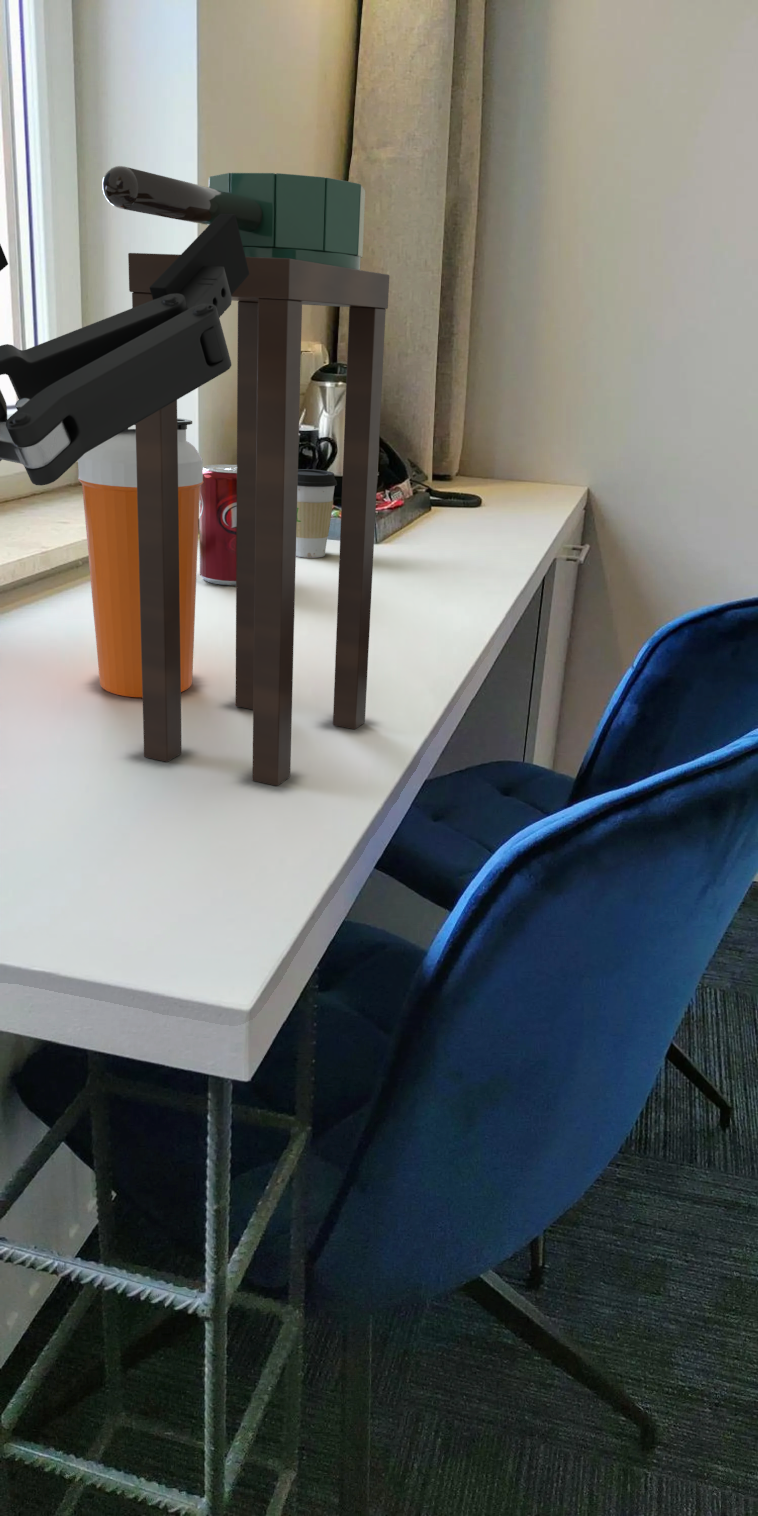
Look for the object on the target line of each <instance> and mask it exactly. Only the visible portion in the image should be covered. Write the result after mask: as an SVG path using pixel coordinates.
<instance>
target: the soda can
mask: <svg viewBox="0 0 758 1516" xmlns="http://www.w3.org/2000/svg"><path fill="white" fill-rule="evenodd" d="M236 531H237V464H224V463H223V464H207V465H203V484H202V485H201V486H200V496H199V521H198V544H199V545H198V547H199V575H200V576H201V578H202V579H203V580H204V581H205V582H207V583H211V584H214V585H221V586H232V587H233V586H235V587H236Z"/></svg>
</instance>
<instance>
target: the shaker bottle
mask: <svg viewBox="0 0 758 1516" xmlns="http://www.w3.org/2000/svg"><path fill="white" fill-rule="evenodd" d="M190 425H193V420H191V419H187V418H178V417H177V437H178V514H179V591H180V668H181V693H182V692H185V691H186V690H188V689H190V688H191V686H192V684H193V673H194V648H195V647H194V645H195V620H196V619H195V618H196V596H197V572H198V571H197V570H198V547H199V545H198V544H199V496H200V486H201V485H202V484H203V467H204V464H203V463H204V462H203V461H204V460H203V458H202V455H200V453H199V452H198V450H197V448H196V447H195V446H194V445H193V444H192V443H190V442H189V441H187V429H188V426H190ZM133 426H135V424H134V425H133ZM77 468H78V469H77V471H78V473H77V474H78V478H77V480H78V481H79V483H81V489H82V499H83V510H84V520H85V522H84V523H85V533H86V543H87V544H86V545H87V554H88V555H87V557H88V566H89V575H90V576H89V577H90V589H91V598H92V611H93V622H94V623H93V624H94V632H95V633H94V634H95V644H96V655H97V666H98V678H99V679H98V680H99V685H100V687H101V688H102V689H103V690H104V691H106V692H108V693H110V694H113V695H117V696H122V697H128V698H129V697H130V698H142V699H143V695H142V657H141V619H140V580H139V542H138V504H137V466H136V428H128V429H126V430H124V431H122V432H121V433H119V434H117V435H116V436H114V437H112V438H110V439H109V440H107V441H105V442H104V443H102V444H100V445H98V446H97V447H95V448H93V449H91V450H90V451H88V452H86V453H85V454H84V455H83V456H82V457H81V458H80V459H78V460H77Z"/></svg>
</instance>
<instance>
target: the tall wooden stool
mask: <svg viewBox="0 0 758 1516" xmlns="http://www.w3.org/2000/svg"><path fill="white" fill-rule="evenodd" d="M180 255H181V254H178V253H177V254H173V253H148V252H147V253H146V252H140V253H139V252H128V254H127V258H128V263H127V264H128V292H130V293H131V307H132V308H134V307H137V306H139V305H142V304H144V303H147V302H149V301H152V300H153V298H152V295H151V291H150V288H149V287H150V286H151V285H152V284H153V283H154V282H155V281H156V280H157V279H158V278H159V277H160V276H161V275H162V274H163V273H164V272H165V271H166V270H167V269H168V268H169V267H170V265H171V264H172V263H173V262H174V261H175V260H176V259H177V258H178V257H179V256H180ZM246 262H247V266H248V270H249V275H248V277H247V278H246V279H245V280H244V281H243V282H242V283H241V285H240V286H239V287H238V288H237V289H236V290H235V292H234V293H233V294H232V295H231V296H232V301H234V302H237V369H236V370H237V373H236V375H237V377H236V380H237V381H236V382H237V383H236V384H237V385H236V386H237V387H236V465H237V531H236V586H235V707H237V708H242V709H247V710H252V771H251V772H252V773H251V774H252V778H251V779H252V782H258V783H261V784H267V785H272V786H275V787H278V786H279V785H281V784H283V783H284V782H285V781H286V780H288V779H289V778H290V777H291V763H292V761H291V759H292V725H293V723H292V722H293V721H292V717H293V687H294V685H293V683H294V680H293V679H294V677H293V676H294V641H295V640H294V639H295V605H296V603H295V602H296V562H297V561H296V560H297V559H296V558H297V556H296V527H297V487H298V469H299V444H300V443H299V442H300V441H299V440H300V407H301V406H300V403H301V401H300V400H301V399H300V398H301V365H302V364H301V361H302V327H303V326H302V325H303V324H302V323H303V306H320V307H321V306H323V307H342V308H343V307H344V308H348V329H347V355H346V356H347V357H346V378H345V379H346V381H345V407H344V408H345V409H344V428H343V429H344V430H343V455H342V456H343V458H342V481H341V508H340V536H339V559H338V560H339V561H338V581H337V582H338V583H337V585H338V586H337V587H338V588H337V607H336V608H337V609H336V610H337V611H336V631H335V632H336V633H335V635H336V636H335V657H334V658H335V659H334V685H333V687H334V688H333V708H332V709H333V710H332V711H333V712H332V725H333V726H336V727H341V728H346V729H352V730H356V729H358V728H360V726H362V725H363V724H365V722H366V709H367V708H366V706H367V687H368V670H369V669H368V667H369V652H370V651H369V649H370V648H369V647H370V632H371V631H370V628H371V608H372V589H373V572H374V571H373V569H374V552H375V551H374V549H375V533H376V532H375V531H376V509H377V490H378V473H379V472H378V469H379V451H380V431H381V429H380V428H381V410H382V393H383V373H384V372H383V371H384V351H385V334H386V333H385V332H386V331H385V330H386V315H387V313H386V310H388V308H389V296H390V295H389V294H390V292H389V291H390V275H389V274H386V273H382V272H381V273H380V272H376V271H375V272H374V271H368V270H364V269H363V270H362V269H360V270H357V269H351V268H345V267H338V266H332V265H326V264H320V263H314V262H308V261H302V260H296V259H290V258H264V257H246ZM132 308H131V309H132ZM177 418H178V400H176V401H174V402H172V403H171V404H169V405H167V406H165V407H164V408H162V409H160V410H159V411H157V412H155V413H153V414H152V415H150V416H148V417H147V418H145V419H143V420H141V421H140V422H138V423H136V424H135V425H134V427H135V429H136V466H137V504H138V542H139V580H140V619H141V657H142V695H143V698H142V724H143V725H142V729H143V731H142V732H143V734H142V735H143V757H144V758H147V759H152V760H157V761H161V762H165V763H168V762H169V761H171V760H173V759H175V758H177V757H178V756H180V755H181V754H182V752H183V751H182V750H183V749H182V747H183V745H182V692H181V668H180V591H179V514H178V437H177Z"/></svg>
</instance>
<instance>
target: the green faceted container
mask: <svg viewBox="0 0 758 1516" xmlns="http://www.w3.org/2000/svg"><path fill="white" fill-rule="evenodd" d="M102 192H103V195H104V197H105V199H106V200H107V202H108V203H109V204H110V205H112V206H113V207H115V208H118V209H121V210H126V211H131V212H137V213H141V214H146V215H152V216H158V217H162V218H166V219H167V218H168V219H172V220H173V219H174V220H178V221H183V222H189V223H195V224H198V225H199V224H200V225H204V226H209V225H210V224H211V223H212V222H213V221H214V220H215V219H216V217H217V216H218V215H219V214H235V216H236V220H237V224H238V228H239V233H240V237H241V241H242V245H243V249H244V253H245V257H264V258H290V259H296V260H302V261H308V262H314V263H320V264H326V265H332V266H338V267H345V268H351V269H357V270H361V265H362V264H361V261H362V258H364V257H363V255H364V254H363V253H364V235H365V234H364V233H365V232H364V231H365V212H366V211H365V208H366V189H365V188H364V187H363V184H361V183H358V182H354V181H353V182H352V181H347V180H342V179H337V178H332V177H325V176H315V175H303V174H291V173H279V172H276V173H275V172H227V173H220V174H215V175H210V176H209V177H208V186H205V185H200V184H197V183H192V182H188V181H185V180H181V179H180V180H179V179H176V178H172V177H168V176H165V175H160V174H156V173H152V172H148V171H144V170H141V169H137V168H133V167H128V166H123V165H117V166H113V167H111V168H110V169H109V170H107V171H106V172H105V174H104V176H103V178H102Z"/></svg>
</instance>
